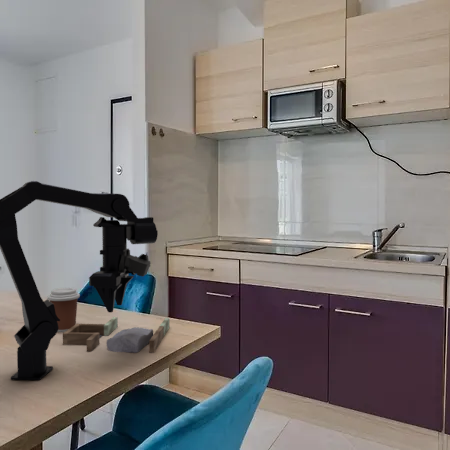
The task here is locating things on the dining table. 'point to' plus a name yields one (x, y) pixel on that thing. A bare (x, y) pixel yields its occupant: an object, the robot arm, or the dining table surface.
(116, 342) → the stone block
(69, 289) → the coffee cup
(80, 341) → the channel
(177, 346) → the dining table surface
